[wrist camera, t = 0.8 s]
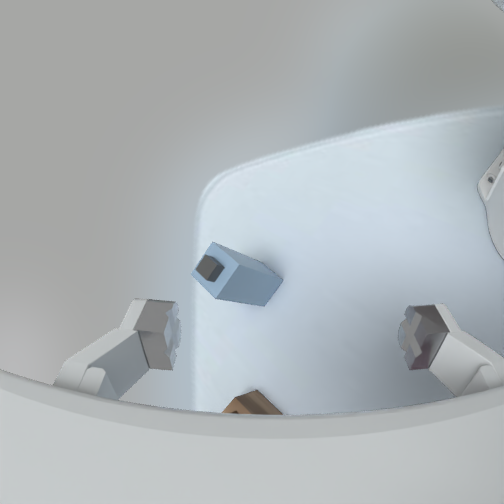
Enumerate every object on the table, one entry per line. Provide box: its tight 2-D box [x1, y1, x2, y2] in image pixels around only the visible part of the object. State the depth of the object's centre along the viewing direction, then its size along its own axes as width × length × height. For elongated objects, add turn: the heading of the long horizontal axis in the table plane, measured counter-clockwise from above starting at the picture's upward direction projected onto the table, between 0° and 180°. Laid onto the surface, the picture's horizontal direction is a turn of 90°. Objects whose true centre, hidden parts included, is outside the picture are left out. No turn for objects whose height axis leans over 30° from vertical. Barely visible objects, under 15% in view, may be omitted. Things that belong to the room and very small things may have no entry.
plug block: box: [191, 242, 283, 306], centre depth 40 cm, size 4×4×14 cm
